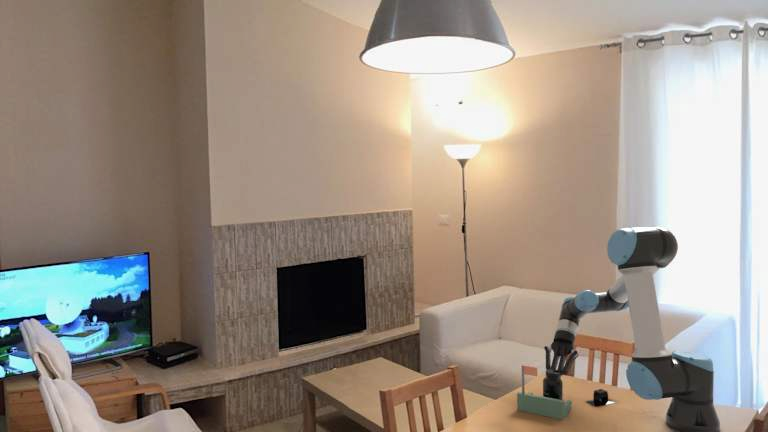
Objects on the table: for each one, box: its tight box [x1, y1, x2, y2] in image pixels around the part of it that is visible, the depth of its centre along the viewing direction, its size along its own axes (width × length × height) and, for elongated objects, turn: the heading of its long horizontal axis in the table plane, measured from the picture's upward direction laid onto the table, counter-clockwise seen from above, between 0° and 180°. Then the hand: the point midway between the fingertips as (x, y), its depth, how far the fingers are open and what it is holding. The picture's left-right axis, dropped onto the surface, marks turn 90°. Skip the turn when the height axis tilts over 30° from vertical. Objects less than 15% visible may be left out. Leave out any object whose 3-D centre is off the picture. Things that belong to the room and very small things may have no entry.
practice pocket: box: [516, 364, 573, 421], centre depth 198 cm, size 10×16×16 cm, turn 55°
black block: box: [585, 388, 616, 408], centre depth 203 cm, size 12×7×5 cm, turn 115°
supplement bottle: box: [542, 369, 564, 400], centre depth 203 cm, size 7×7×12 cm
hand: (551, 390), depth 207 cm, fingers closed
